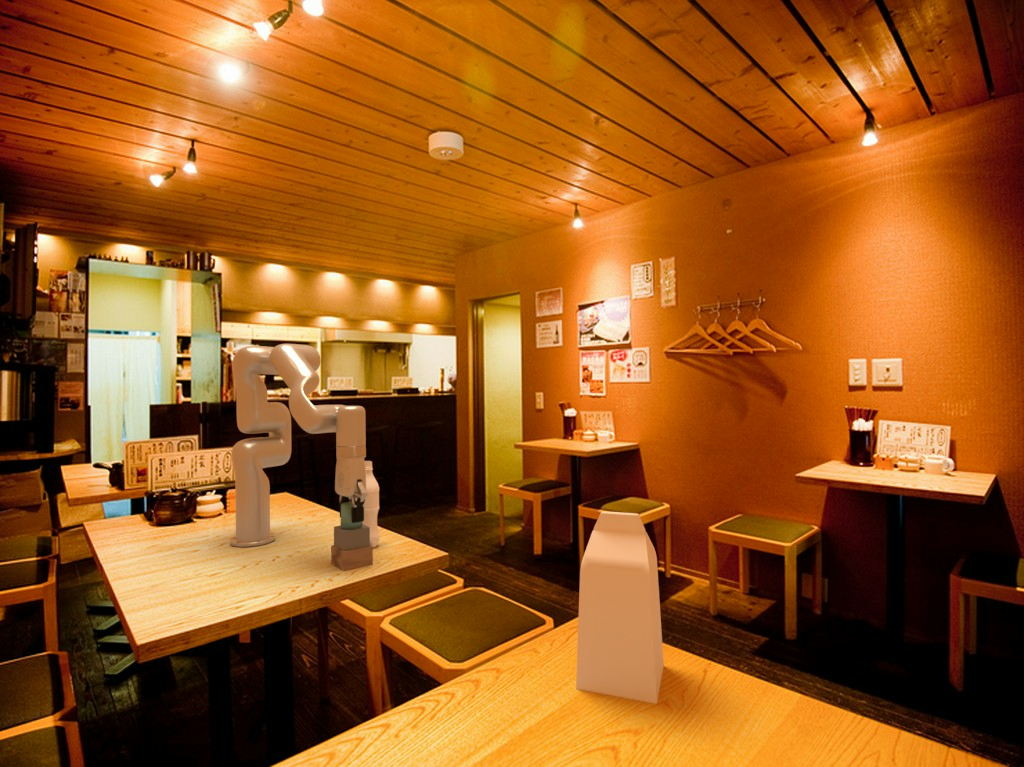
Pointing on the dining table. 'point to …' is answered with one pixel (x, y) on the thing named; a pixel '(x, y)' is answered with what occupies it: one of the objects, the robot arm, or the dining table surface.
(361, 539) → the tower mid
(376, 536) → the water bottle
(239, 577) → the dining table surface
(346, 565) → the tower base
